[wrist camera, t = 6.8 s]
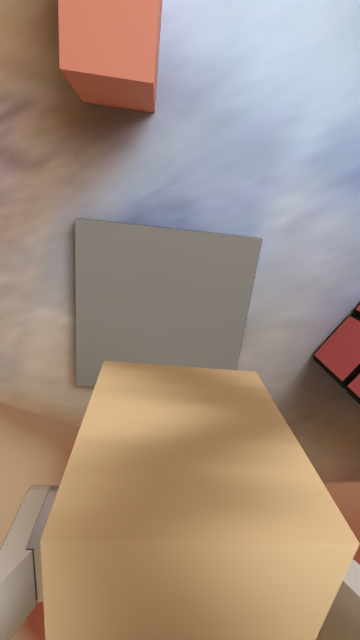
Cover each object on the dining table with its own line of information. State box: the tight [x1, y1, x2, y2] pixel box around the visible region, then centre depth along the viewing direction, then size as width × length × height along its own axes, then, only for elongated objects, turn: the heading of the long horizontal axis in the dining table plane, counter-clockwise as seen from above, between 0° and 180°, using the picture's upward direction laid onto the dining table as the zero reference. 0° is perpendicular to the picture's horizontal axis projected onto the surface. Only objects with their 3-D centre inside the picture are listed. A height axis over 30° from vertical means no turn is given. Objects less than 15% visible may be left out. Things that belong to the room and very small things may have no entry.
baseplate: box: [75, 218, 262, 387], centre depth 24 cm, size 13×13×1 cm
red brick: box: [58, 0, 162, 113], centre depth 16 cm, size 4×7×5 cm, turn 174°
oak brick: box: [40, 361, 359, 640], centre depth 8 cm, size 4×7×5 cm, turn 173°
